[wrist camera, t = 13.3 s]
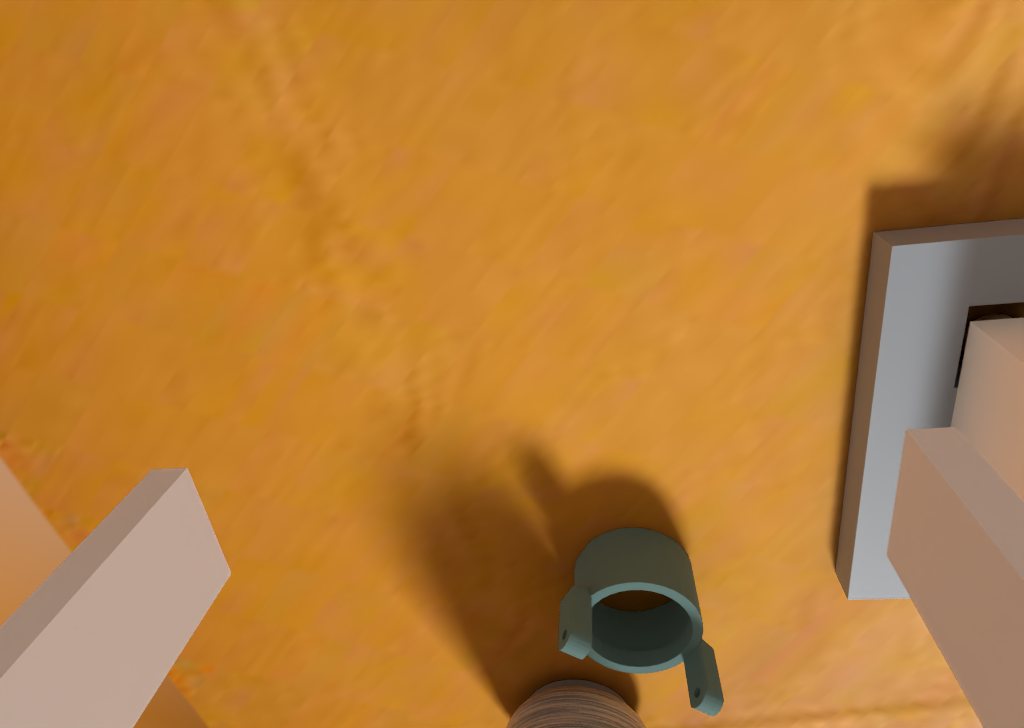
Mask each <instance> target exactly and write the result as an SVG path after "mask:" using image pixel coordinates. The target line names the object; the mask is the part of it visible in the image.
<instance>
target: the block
mask: <svg viewBox="0 0 1024 728" xmlns="http://www.w3.org/2000/svg"><path fill="white" fill-rule="evenodd" d="M962 345H963V349H964V351H965V353H964V358H963V363H962V369H961V374H960V379H959V385H958V390H957V395H956V400H955V406H954V411H953V416H952V422H951V427H956V428H957V429H958V430H959V432H960V433H961V434H962V435H963V436H964V437H965V438H966V439H967V440H968V441H969V443H970V444H971V445H972V446H973V447H974V448H975V449H976V450H977V451H978V453H979V454H980V455H981V456H982V457H983V458H984V459H985V460H986V461H987V462H988V464H989V465H990V466H991V467H992V468H993V469H994V470H995V471H996V472H997V473H998V475H999V476H1000V477H1001V478H1002V479H1003V480H1004V481H1005V482H1006V483H1007V484H1008V486H1009V487H1010V488H1011V489H1012V490H1013V491H1014V492H1015V493H1016V494H1017V496H1018V497H1019V498H1020V499H1021V500H1022V501H1023V502H1024V318H1011V317H1009V316H1007V315H1005V314H989V315H986V316H983V317H981V318H979V319H977V320H976V321H970V326H969V327H968V328H967V330H966V331H965V333H964V337H963V342H962Z"/></svg>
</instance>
